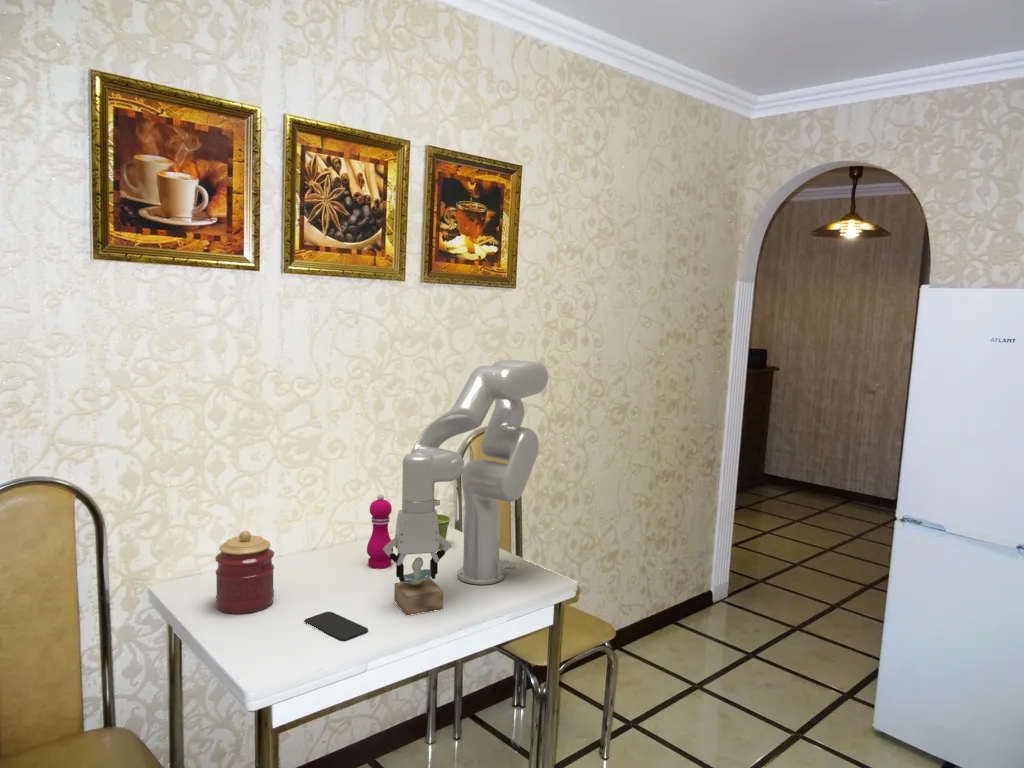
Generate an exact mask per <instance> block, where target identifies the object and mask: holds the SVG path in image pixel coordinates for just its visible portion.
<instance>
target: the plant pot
mask: <svg viewBox="0 0 1024 768" xmlns="http://www.w3.org/2000/svg"><path fill="white" fill-rule="evenodd" d="M437 517H438V525H439V535H440V536H441V537H443V538H444V539H445V540H447V535H448V528H449V525H450V522H451V521H452V518H451V516H449V515H446V514H443V513H441V514H440V513H437ZM442 547H443V545H442V544H441V543H440V542H439V549H438V550H440V549H441V548H442Z"/></svg>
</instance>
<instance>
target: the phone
mask: <svg viewBox="0 0 1024 768" xmlns="http://www.w3.org/2000/svg"><path fill="white" fill-rule="evenodd" d="M304 622H306V623H308V624H310V625H312V626H314V627H316V628H318V629H319V630H321V631H323V632H324V634H325V633H326V635H327V634H328V636H329V637H332V638H334V639H335V640H338V641H340V642H348V641H350V640H354V639H355V638H357V637H360V636H364V635H366V634H367V633H369V628H368V627H366V626H364V625H362V624H359V623H357V622H354V621H353V620H351V619H348V618H346V617H344V616H342V615H340V614H337V613H335V612H332V611H325V612H322V613H319V614H317V615H316V614H315V615H313V616H311V617H307V618H305V619H304ZM304 622H303V623H304ZM306 623H305V624H306ZM319 630H318V631H319ZM321 631H320V632H321ZM323 632H322V633H323Z"/></svg>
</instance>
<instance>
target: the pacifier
mask: <svg viewBox="0 0 1024 768" xmlns="http://www.w3.org/2000/svg"><path fill="white" fill-rule="evenodd" d="M423 565H424V560H423V558H422V557H420V556H419V557H416V558H415V559H414V560H413V561H412V565H411V569H412V571H413V572H411V573H408V574H404V581H403V583H410V584H420V583H422V582H423V581H424V580H426V579H428V578H431V571H430V568H428V569H427V568H425V569H422V567H423Z"/></svg>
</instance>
